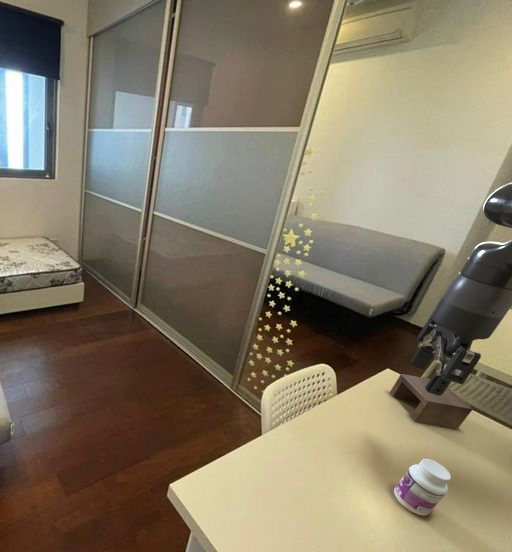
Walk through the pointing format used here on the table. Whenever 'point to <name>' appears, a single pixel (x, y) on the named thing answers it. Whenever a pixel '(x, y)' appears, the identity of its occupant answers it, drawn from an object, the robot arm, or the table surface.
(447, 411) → the shelf
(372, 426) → the table surface
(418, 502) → the pill bottle
